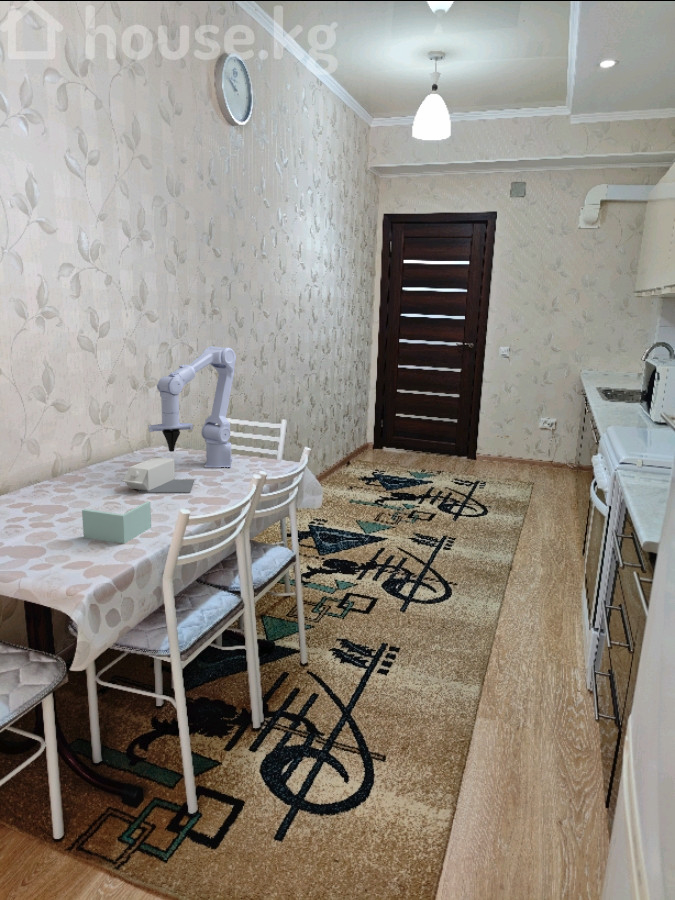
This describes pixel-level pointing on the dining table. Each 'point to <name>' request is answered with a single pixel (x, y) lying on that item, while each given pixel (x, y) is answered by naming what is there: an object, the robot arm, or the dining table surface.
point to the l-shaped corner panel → (116, 524)
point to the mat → (173, 487)
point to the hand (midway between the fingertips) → (171, 450)
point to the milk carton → (150, 473)
